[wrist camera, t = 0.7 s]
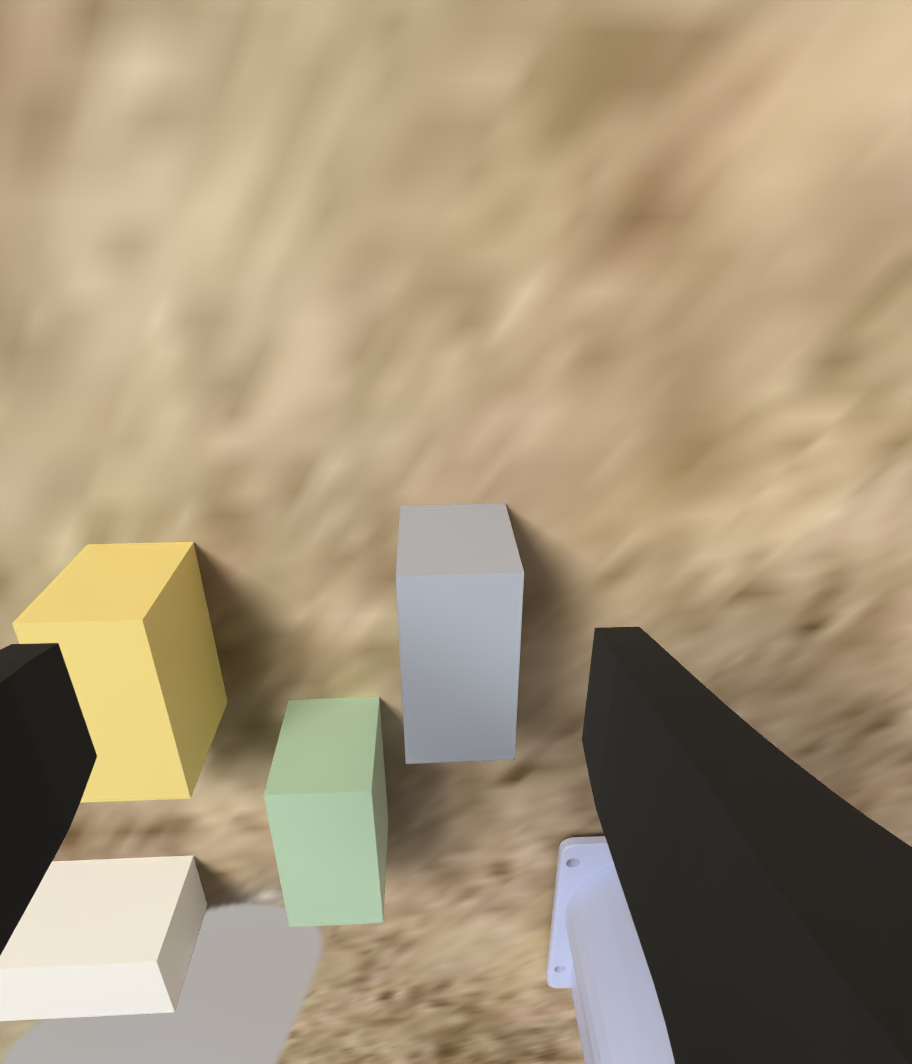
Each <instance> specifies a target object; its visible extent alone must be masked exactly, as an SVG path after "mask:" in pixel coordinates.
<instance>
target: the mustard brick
mask: <svg viewBox="0 0 912 1064" xmlns="http://www.w3.org/2000/svg"><path fill="white" fill-rule="evenodd" d="M12 624H13V627H14V630H15V632H16V635H17V637H18V640H19V643H20V644H38V643H59V646H60V649H61V652H62V655H63V658H64V661H65V664H66V667H67V670H68V672H69V675H70V678H71V681H72V684H73V687H74V690H75V693H76V696H77V699H78V702H79V705H80V707H81V710H82V713H83V716H84V719H85V722H86V725H87V728H88V731H89V734H90V737H91V740H92V743H93V745H94V748H95V751H96V754H97V758H96V761H95V764H94V767H93V769H92V772H91V775H90V777H89V780H88V783H87V786H86V788H85V791H84V794H83V796H82V799H81V801H80V802H107V801H133V800H160V799H186V798H191V796H192V793H193V791H194V788H195V785H196V783H197V780H198V778H199V775H200V772H201V770H202V767H203V765H204V762H205V759H206V757H207V754H208V752H209V749H210V746H211V744H212V741H213V739H214V736H215V733H216V731H217V728H218V726H219V723H220V720H221V718H222V715H223V713H224V710H225V707H226V705H227V697H226V692H225V688H224V683H223V678H222V673H221V669H220V664H219V659H218V655H217V650H216V645H215V640H214V636H213V631H212V626H211V622H210V617H209V612H208V607H207V603H206V598H205V593H204V588H203V584H202V579H201V574H200V570H199V565H198V560H197V555H196V551H195V546H194V542H172V543H131V544H90V545H87V546H86V547H85V548H84V549H83V550H82V551H81V552H80V553H79V554H78V555H77V556H76V557H75V558H74V559H73V560H72V561H71V562H70V563H69V565H68V566H67V567H66V568H65V569H64V570H63V571H62V572H61V573H60V574H59V575H58V576H57V577H56V578H55V579H54V580H53V581H52V582H51V583H50V584H49V586H48V587H47V588H46V589H45V590H44V591H43V592H42V593H41V594H40V595H39V596H38V597H37V598H36V599H35V600H34V601H33V602H32V603H31V604H30V605H29V606H28V608H27V609H26V610H25V611H24V612H23V613H22V614H21V615H20V616H19V617H18V618H17V619H16V620H15V621H14V622H13V623H12Z"/></svg>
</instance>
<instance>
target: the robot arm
mask: <svg viewBox="0 0 912 1064" xmlns="http://www.w3.org/2000/svg"><path fill="white" fill-rule="evenodd" d="M582 742H583V747H584V752H585V757H586V762H587V768H588V773H589V778H590V782H591V787H592V792H593V796H594V801H595V806H596V810H597V813H598V816H599V819H600V822H601V826H602V829H603V832H604V835H605V836H592V837H572V838H567V839H565V840H564V841H563V842H562V843H560V846H559V853H558V863H557V873H556V883H555V893H554V902H553V912H552V922H551V932H550V942H549V951H548V961H547V971H546V977H547V983H548V985H549V986H550V987H553V988H571V992H572V997H573V1002H574V1008H575V1013H576V1018H577V1024H578V1029H579V1035H580V1040H581V1045H582V1051H583V1056H584V1061H585V1064H912V847H911V846H909V845H908V844H906V843H905V842H903V841H902V840H900V839H899V838H897V837H896V836H894V835H893V834H892V833H890V832H889V831H887V830H886V829H884V828H883V827H881V826H880V825H878V824H877V823H875V822H874V821H873V820H871V819H870V818H868V817H867V816H865V815H864V814H863V813H861V812H860V811H859V810H857V809H856V808H854V807H853V806H852V805H850V804H849V803H848V802H846V801H845V800H843V799H842V798H841V797H839V796H838V795H837V794H835V793H834V792H833V791H831V790H830V789H829V788H828V787H826V786H825V785H824V784H822V783H821V782H820V781H818V780H817V779H816V778H815V777H813V776H812V775H811V774H809V773H808V772H807V771H806V770H804V769H803V768H802V767H800V766H799V765H798V764H797V763H795V762H794V761H793V760H791V759H790V758H789V757H788V756H786V755H785V754H784V753H783V752H781V751H780V750H779V749H778V748H776V747H775V746H774V745H773V744H772V743H770V742H769V741H768V740H767V739H765V738H764V737H763V736H762V735H761V734H759V733H758V732H757V731H756V730H755V729H753V728H752V727H751V726H750V725H749V724H748V723H746V722H745V721H744V720H743V719H742V718H740V717H739V716H738V715H737V714H736V713H735V712H734V711H732V710H731V709H730V708H729V707H728V706H727V705H725V704H724V703H723V702H722V701H721V700H720V699H719V698H718V697H716V696H715V695H714V694H713V693H712V692H711V691H710V690H708V689H707V688H706V687H705V686H704V685H703V684H702V683H701V682H700V681H699V680H697V679H696V678H695V677H694V676H693V675H692V674H691V673H690V672H689V671H687V670H686V669H685V668H684V667H683V666H682V665H681V664H680V663H679V662H678V661H677V660H675V659H674V658H673V657H672V656H671V655H670V654H669V653H668V652H667V651H666V650H665V649H663V648H662V647H661V646H660V645H659V644H658V643H657V642H656V641H655V640H654V639H652V638H651V637H650V636H649V635H648V634H647V633H646V632H644V631H643V630H642V629H641V628H640V627H613V628H595V632H594V641H593V649H592V658H591V667H590V675H589V684H588V692H587V701H586V710H585V718H584V727H583V736H582ZM96 758H97V754H96V751H95V748H94V745H93V743H92V740H91V737H90V734H89V731H88V728H87V725H86V722H85V719H84V716H83V713H82V710H81V707H80V705H79V702H78V699H77V696H76V693H75V690H74V687H73V684H72V681H71V678H70V675H69V672H68V670H67V667H66V664H65V661H64V658H63V655H62V652H61V649H60V646H59V643H38V644H11V645H9V646H7V647H5V648H3V649H1V650H0V955H1V954H2V952H3V950H4V948H5V946H6V944H7V943H8V941H9V939H10V937H11V935H12V934H13V932H14V930H15V928H16V926H17V925H18V923H19V921H20V919H21V917H22V916H23V914H24V912H25V910H26V908H27V906H28V905H29V903H30V901H31V899H32V897H33V896H34V894H35V892H36V890H37V888H38V886H39V885H40V883H41V881H42V879H43V877H44V875H45V873H46V872H47V870H48V868H49V866H50V864H51V862H52V860H53V859H54V857H55V855H56V853H57V851H58V849H59V847H60V846H61V844H62V842H63V840H64V838H65V836H66V834H67V832H68V830H69V828H70V826H71V823H72V821H73V818H74V816H75V813H76V811H77V809H78V806H79V804H80V801H81V799H82V796H83V794H84V791H85V788H86V786H87V783H88V780H89V777H90V775H91V772H92V769H93V767H94V764H95V761H96Z"/></svg>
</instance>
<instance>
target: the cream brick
mask: <svg viewBox="0 0 912 1064" xmlns="http://www.w3.org/2000/svg"><path fill="white" fill-rule="evenodd" d="M206 908H207V902H206V899H205V895H204V892H203V888H202V885H201V881H200V878H199V874H198V870H197V867H196V863H195V860H194V856H174V857H150V858H127V859H104V860H80V861H57V862H51V864H50V866H49V868H48V870H47V872H46V873H45V875H44V877H43V879H42V881H41V883H40V885H39V886H38V888H37V890H36V892H35V894H34V896H33V897H32V899H31V901H30V903H29V905H28V906H27V908H26V910H25V912H24V914H23V916H22V917H21V919H20V921H19V923H18V925H17V926H16V928H15V930H14V932H13V934H12V935H11V937H10V939H9V941H8V943H7V944H6V946H5V948H4V950H3V952H2V954H1V955H0V1021H12V1020H31V1019H51V1018H70V1017H91V1016H110V1015H129V1014H149V1013H168V1012H169V1013H170V1012H175V1010H176V1006H177V1003H178V1000H179V996H180V993H181V989H182V987H183V983H184V980H185V977H186V973H187V970H188V967H189V964H190V960H191V957H192V954H193V950H194V947H195V944H196V940H197V937H198V934H199V931H200V927H201V924H202V921H203V917H204V914H205V911H206Z"/></svg>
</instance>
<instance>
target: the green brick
mask: <svg viewBox="0 0 912 1064" xmlns="http://www.w3.org/2000/svg"><path fill="white" fill-rule="evenodd" d="M264 800H265V805H266V811H267V816H268V821H269V826H270V831H271V836H272V841H273V846H274V851H275V857H276V862H277V867H278V872H279V877H280V882H281V887H282V892H283V897H284V903H285V908H286V913H287V918H288V923H289V927H302V926H303V927H304V926H325V925H346V924H366V923H383V915H384V896H385V877H386V858H387V839H388V807H387V794H386V780H385V767H384V753H383V739H382V726H381V712H380V699H379V697H360V698H331V699H301V700H288V704H287V708H286V712H285V716H284V719H283V723H282V727H281V731H280V735H279V738H278V742H277V746H276V750H275V754H274V757H273V761H272V765H271V769H270V773H269V777H268V780H267V784H266V788H265V792H264Z"/></svg>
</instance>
